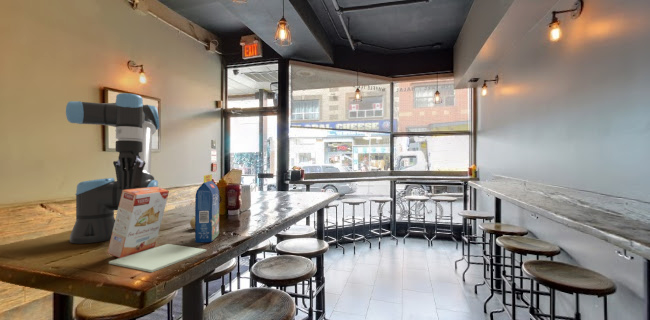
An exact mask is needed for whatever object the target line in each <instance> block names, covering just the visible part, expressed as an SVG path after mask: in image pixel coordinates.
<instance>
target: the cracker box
mask: <svg viewBox="0 0 650 320" xmlns="http://www.w3.org/2000/svg"><path fill="white" fill-rule="evenodd" d="M169 192H170V191H169V190H167V189H165V188H162V187H159V186H158V187H148V188H137V189H127V190H123V191H122V194H121V199H120V203H119V207H118V210H116V217H115V223H114V227H113V231H112V235H111V239H110V240H109V245H108V247H107V254H109V255H111V256H114V257H116V258H117V259H119V258H122V257H125V256H129V255H132V254H135V253H139V252H142V251H145V250H149V249H152V248H155V247H156V244H157V240H158V236H159V232H160V230H161V229H160V228H161V225H162V220H163V216H164V213H165V208H166V204H167V202H168V201H167V200H168V197H169Z"/></svg>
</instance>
